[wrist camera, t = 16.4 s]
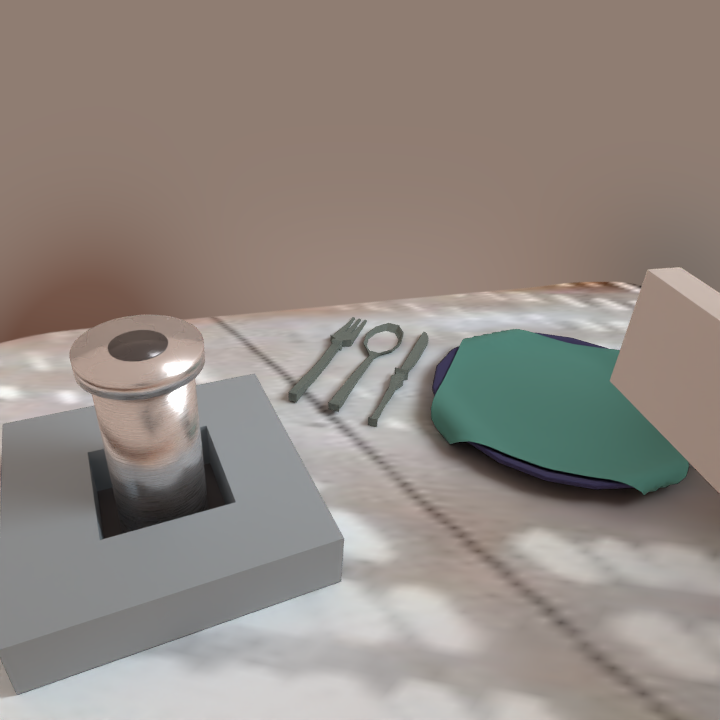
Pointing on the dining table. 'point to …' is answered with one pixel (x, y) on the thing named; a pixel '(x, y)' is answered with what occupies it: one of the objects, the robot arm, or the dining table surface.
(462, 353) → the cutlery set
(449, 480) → the dining table surface
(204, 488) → the bushing
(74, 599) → the jig
